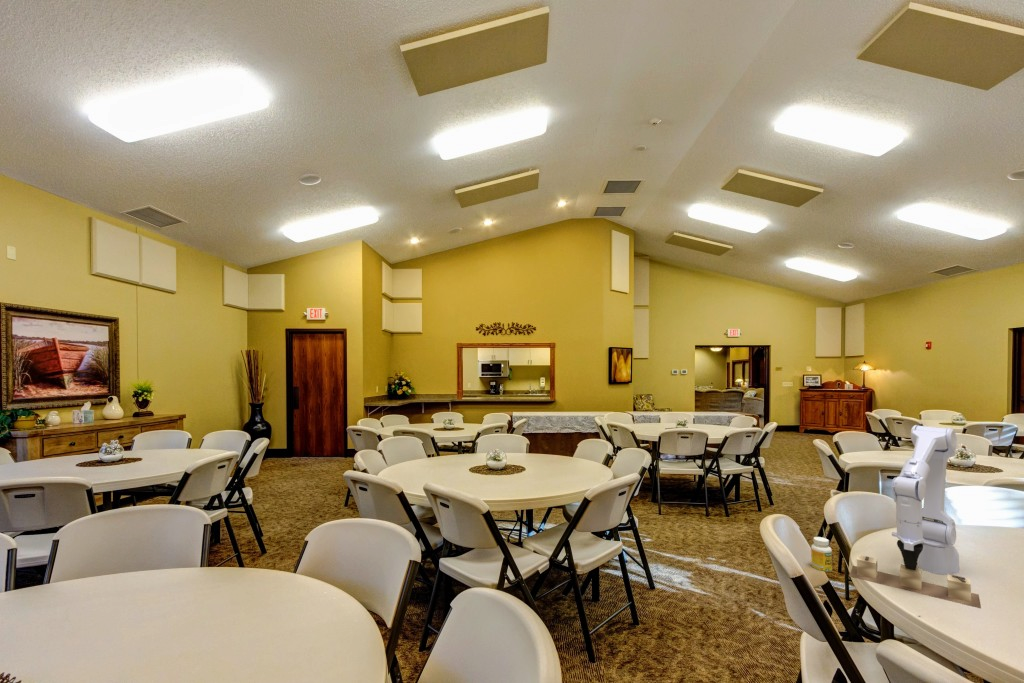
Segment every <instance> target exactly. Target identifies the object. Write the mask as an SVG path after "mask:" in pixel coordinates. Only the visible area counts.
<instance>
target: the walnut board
mask: <svg viewBox="0 0 1024 683" xmlns="http://www.w3.org/2000/svg"><path fill="white" fill-rule="evenodd" d="M877 572H878V575H877V578H876V579H873V578H869V577H864V576H860V575H857V565H853V566H852V568H851V570H850V571H849V574H848V577H850V578H855V579H858V580H862V581H866V582H870V583H873V584H874V583H875V584H879V585H883V586H886V587H891V588H896V589H899V590H904V591H907V592H912V593H916V594H920V595H924V596H928V597H932V598H936V599H939V600H944V601H949V602H952V603H957V604H961V605H965V606H969V607H974V608H977V609H982V606H981V605H982V604H981V601H980V600H981V599H980V595H979V594H978V593H973V592H971V602H968V601H964V600H960V599H955V598H951V597H948V586H943V585H939V584H934V583H930V582H926V581H922V588H921V590H918V589H914V588H910V587H906V586H902V585H900V575H897V574H891V573H887V572H882V571H880V570H877Z"/></svg>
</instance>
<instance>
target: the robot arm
mask: <svg viewBox="0 0 1024 683" xmlns="http://www.w3.org/2000/svg"><path fill="white" fill-rule="evenodd" d="M910 439H911V442H912V444H913V446H914V448H913V452H912V455H911V458H908V459H906V460H905V461H904V464H903V466H902V468H901V471H900V473H899V475H898V476H897V477H894V478H893V479H892V481H891V491H892V494H893V501H894V503H895V505H896V506H895V510H896V513H895V514H896V515H895V517H896V532H895V531H892V532H891V536H892V537H895V538H897V539H898V540H897V542H896V545H897V548H898V549H899V551H900V553H901V556H902V560H903V565H905V567H906V569H910V570H916V567H917V566H918V567H917V568H921V571H925V572H927V573H930V574H934V575H942V576H945V575H946V576H947V574H949V575H952V574H960V555H959V552H958V549H957V548H956V546H954V545H955V543H956V540H957V530H956V521H955V520H954V519H953V518H952V517H951V516H950V515H948V514H947V513H946V512H945V496H946V494H945V493H946V482H947V481H946V479H947V466H948V465H947V464H948V461H949V458H953V457H955V456H956V452H957V434H956V431H955V430H954V429H953V428H951V427H947V428H946V427H937V426H936V427H935V426H928V425H927V426H925V425H919V424H915V425H913V426H912V427H911V430H910Z"/></svg>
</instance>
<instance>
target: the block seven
mask: <svg viewBox="0 0 1024 683" xmlns="http://www.w3.org/2000/svg"><path fill="white" fill-rule="evenodd" d="M946 577H947V587H948V597H951V598H955V599H960V600H964V601H968V602H971V593H972V585H971V579H970V578H967V577H962V576H958V575H953V574H947V575H946Z"/></svg>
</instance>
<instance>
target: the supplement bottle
mask: <svg viewBox="0 0 1024 683" xmlns="http://www.w3.org/2000/svg"><path fill="white" fill-rule="evenodd" d="M829 545H830V540H829V539H827V538H826V537H823V536H822V537H821V536H814V537H813V543H812V544H811V548H810V549H811V550H810V552H811V553H810V554H811V567H812V568H813V569H815V570H817V571H821V572H832V571H833V550H832V547H830V546H829Z"/></svg>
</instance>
